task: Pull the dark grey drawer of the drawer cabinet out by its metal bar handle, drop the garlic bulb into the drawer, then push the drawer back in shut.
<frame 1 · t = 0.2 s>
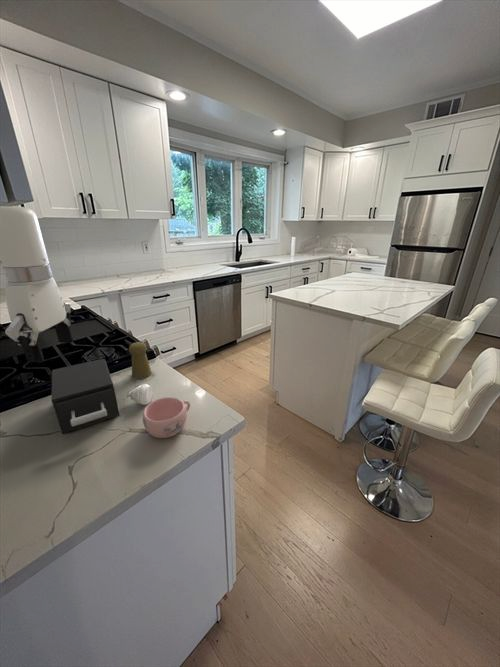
hand: (52, 351, 62), 20 cm above the countertop, tool pointing down, fingers open, 9 cm apart
drawer cabinet: (89, 407, 74), on the countertop
dark grey drawer: (86, 400, 69), point 5 cm above the countertop, slide at 0.0 cm, touching drawer cabinet
mug: (170, 427, 68), on the countertop
garlic bulb: (140, 402, 77), on the countertop
cork: (142, 374, 90), on the countertop
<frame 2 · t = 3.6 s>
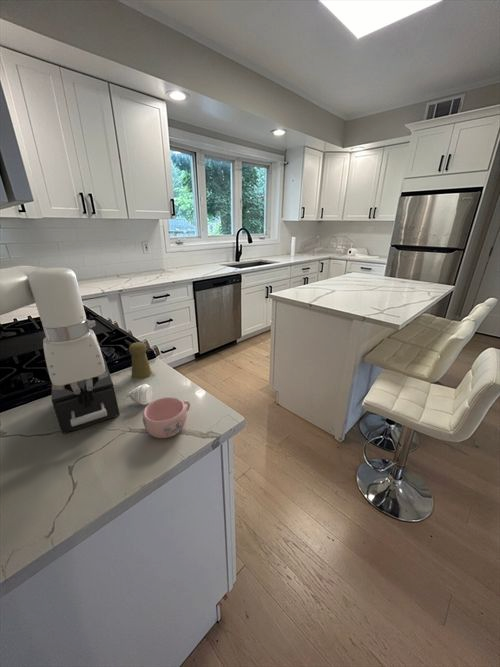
hand: (87, 404, 63), 8 cm above the countertop, tool pointing down, fingers closed
dark grey drawer: (86, 400, 69), point 5 cm above the countertop, slide at 0.0 cm, touching drawer cabinet, gripper
everything else where it was.
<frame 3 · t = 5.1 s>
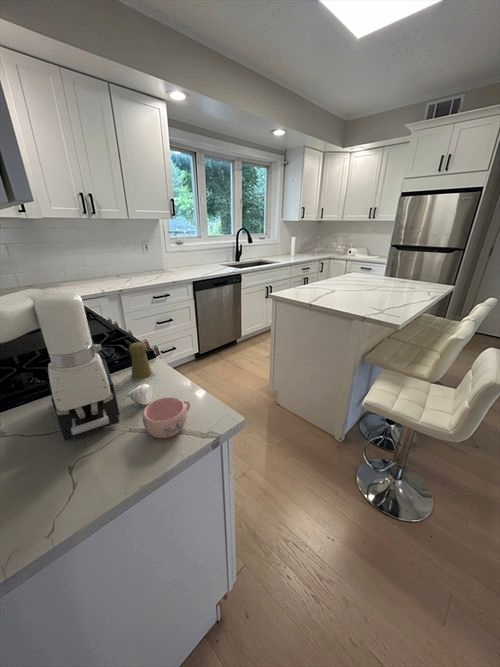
hand: (92, 427, 62), 3 cm above the countertop, tool pointing down, fingers closed
dark grey drawer: (87, 407, 67), point 5 cm above the countertop, slide at 3.1 cm, touching gripper
everything else where it was.
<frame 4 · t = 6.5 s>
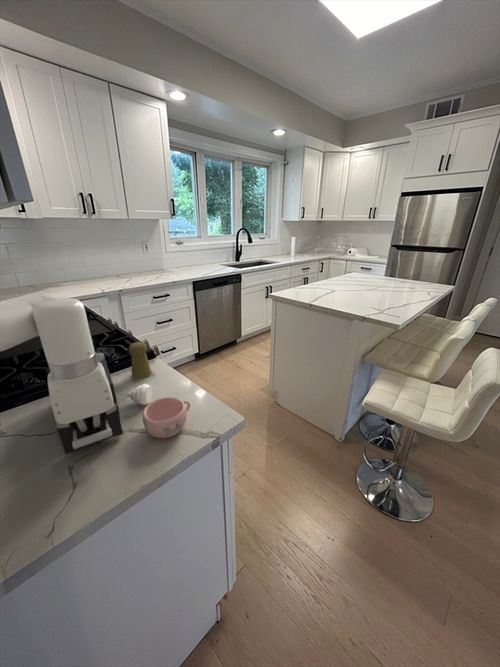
hand: (94, 440, 59), 3 cm above the countertop, tool pointing down, fingers closed
dark grey drawer: (89, 417, 63), point 5 cm above the countertop, slide at 7.6 cm
everything else where it was.
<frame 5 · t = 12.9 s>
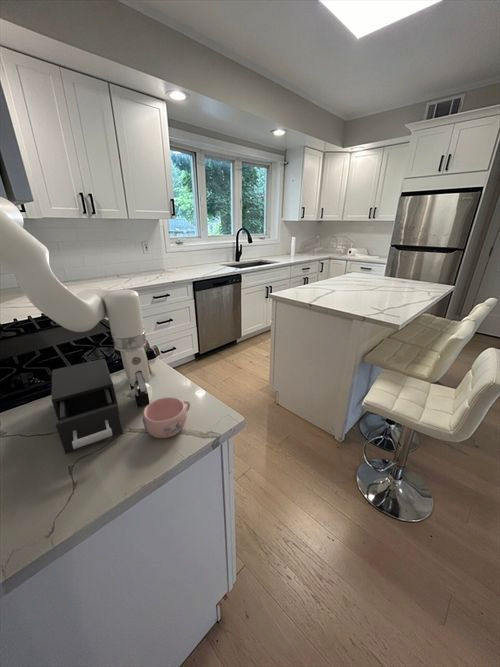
hand: (140, 398, 76), 1 cm above the countertop, tool pointing down, fingers closed on garlic bulb, 5 cm apart
garlic bulb: (139, 402, 77), on the countertop, touching gripper
everything else where it was.
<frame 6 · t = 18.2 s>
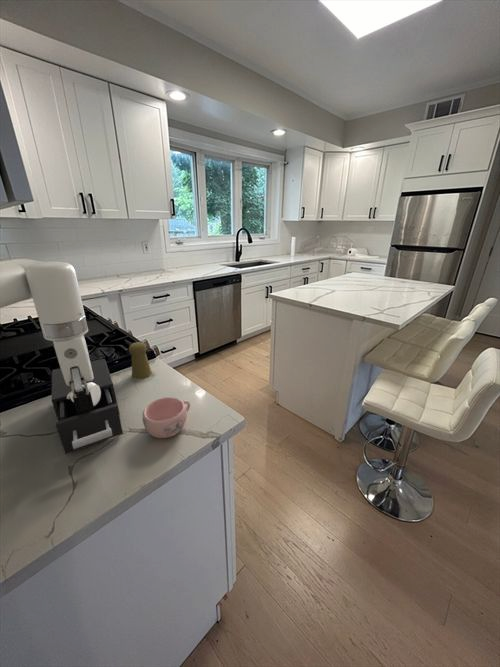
hand: (84, 401, 62), 9 cm above the countertop, tool pointing down, fingers closed on garlic bulb, 5 cm apart
garlic bulb: (84, 405, 62), point 8 cm above the countertop, touching gripper
everything else where it was.
when the fingers open (10 cm above the countertop, at t = 27.1 s): garlic bulb drops 7 cm, resting on dark grey drawer.
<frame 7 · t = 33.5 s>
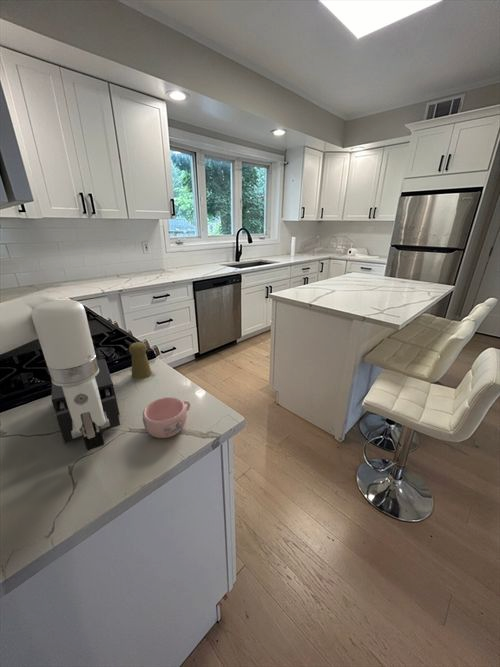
hand: (95, 445, 57), 3 cm above the countertop, tool pointing down, fingers closed
dark grey drawer: (88, 409, 66), point 5 cm above the countertop, slide at 4.1 cm, touching garlic bulb, gripper
garlic bulb: (86, 418, 67), point 2 cm above the countertop, touching dark grey drawer
everything else where it was.
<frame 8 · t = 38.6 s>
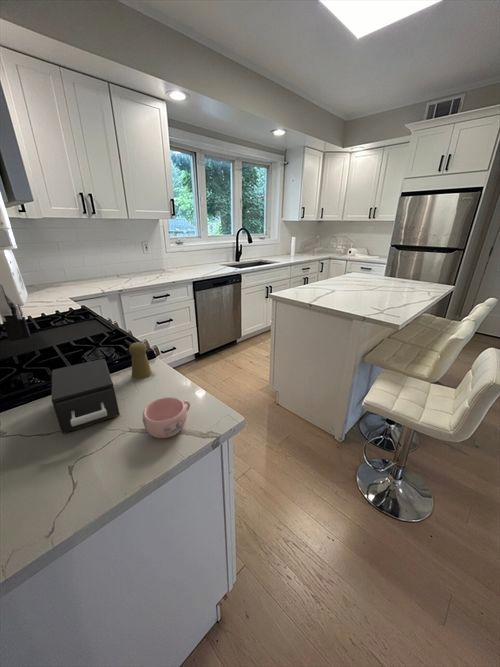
hand: (20, 338, 55), 25 cm above the countertop, tool pointing down, fingers closed
dark grey drawer: (86, 400, 69), point 5 cm above the countertop, slide at 0.0 cm, touching garlic bulb
garlic bulb: (85, 409, 71), point 2 cm above the countertop, touching dark grey drawer
everything else where it was.
at the end: dark grey drawer pulled out 7.6 cm at the most during the clip, back to where it started at the end; garlic bulb inside the target area in the drawer cabinet (3.6 cm from its centre), point 1.8 cm above the drawer cabinet's base; dark grey drawer slide at 0.0 cm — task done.
